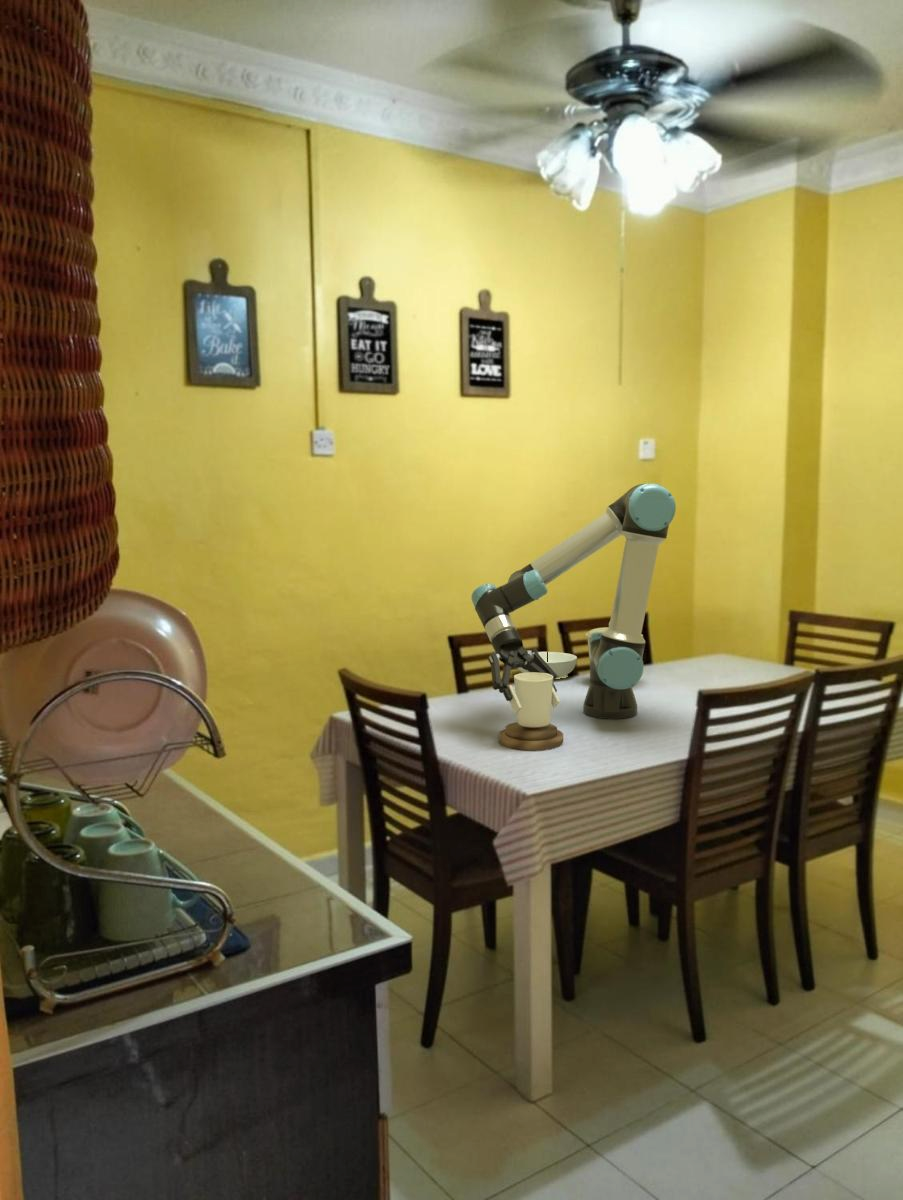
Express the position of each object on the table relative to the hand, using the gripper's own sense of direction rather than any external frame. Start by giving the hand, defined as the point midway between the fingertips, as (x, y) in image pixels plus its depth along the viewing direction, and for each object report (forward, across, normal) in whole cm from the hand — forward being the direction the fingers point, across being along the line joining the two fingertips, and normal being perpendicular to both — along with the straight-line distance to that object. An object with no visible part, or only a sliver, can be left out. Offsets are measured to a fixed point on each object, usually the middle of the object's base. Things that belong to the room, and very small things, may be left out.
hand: (537, 707), depth 228 cm
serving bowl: (-40, -49, -54) cm, 83 cm away
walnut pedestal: (+5, 0, -9) cm, 10 cm away
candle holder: (+1, -1, -6) cm, 6 cm away
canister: (-24, -60, -38) cm, 75 cm away
